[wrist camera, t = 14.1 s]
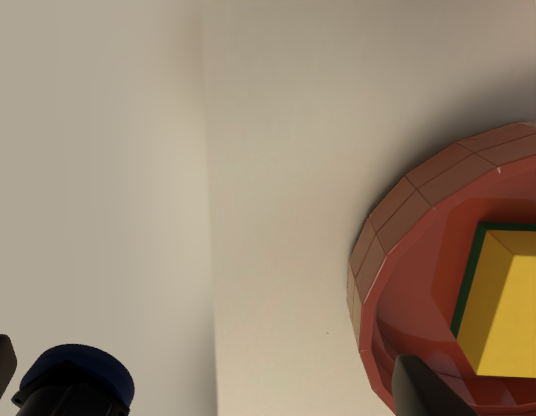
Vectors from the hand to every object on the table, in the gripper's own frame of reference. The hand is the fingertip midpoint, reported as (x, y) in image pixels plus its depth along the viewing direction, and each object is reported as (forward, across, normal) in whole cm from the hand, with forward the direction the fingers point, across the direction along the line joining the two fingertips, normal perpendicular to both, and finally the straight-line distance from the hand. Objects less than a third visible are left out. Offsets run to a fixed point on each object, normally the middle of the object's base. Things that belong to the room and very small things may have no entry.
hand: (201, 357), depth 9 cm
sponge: (+11, -14, +5) cm, 19 cm away
